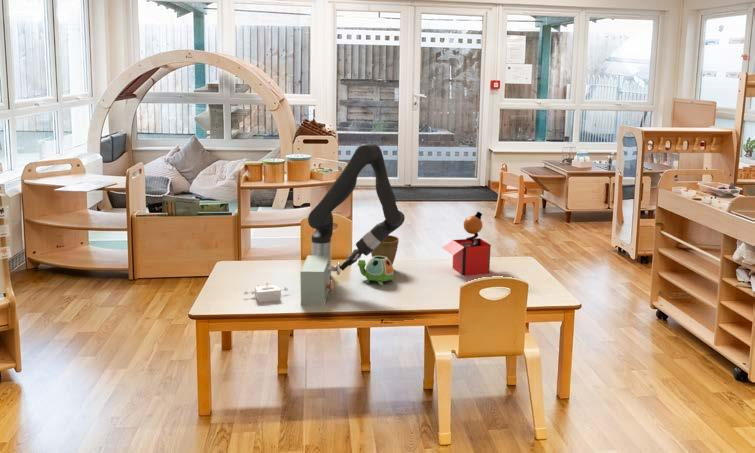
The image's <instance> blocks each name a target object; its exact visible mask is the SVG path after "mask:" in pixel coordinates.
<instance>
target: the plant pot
mask: <svg viewBox="0 0 755 453" xmlns="http://www.w3.org/2000/svg"><path fill="white" fill-rule="evenodd" d="M399 239H400V238H399V237H398V236H396V235H390V234H389V235H388V236H387V237H386V238H385V239H384V240H383V241H382V242H381V243H380V244H379V245H378V246H377V247H376V248H375V249H374V250H373V251H372V252H371V253H370V254H371V258H372V257H374V256H384V257H387V258H388V259H389V261H390V262H391V264H392V266H393V264H394V262H395V259H396V255H397V252H398V248H399V247H398V246H399V241H400V240H399Z"/></svg>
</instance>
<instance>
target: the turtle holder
mask: <svg viewBox="0 0 755 453" xmlns="http://www.w3.org/2000/svg"><path fill="white" fill-rule="evenodd" d="M357 261H358V262H357V264H356V265H357V266H358V267H359V272H360V275H362V276H364V277H365V278H366V283H367V284H371V281H372V282H373V281H374V282H377V285H379V286H384V283H383V282H387V281H388V282H394V280H393V278H394V266H393V265H392V264H391V262H390V261H389V259H388V258H387V257H384V256H374V257H372V256H371V259H369V260H368V262H367V264H366V260H364V259H358V260H357Z"/></svg>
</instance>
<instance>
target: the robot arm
mask: <svg viewBox="0 0 755 453" xmlns="http://www.w3.org/2000/svg"><path fill="white" fill-rule="evenodd" d="M367 165H370V167H372V169H373V171H374V172H373V173H374V177H375V192H376V195H377V198H378V199H379V202H380V205H381V207H382V212H383V215H384V216H383V217H384V219H383V221H381V222H379V223H376V225H375V226H374V227H372V228H371V229H370V230H369V231H368V232H366V233H365V234H364V235H363V236H362V237H361V238H360V239H359V240H358V241H357V242H355V246H356V248H354V249H353V250H352V252H351V253H350V254H349V255H348V256H347V257H346V259H345V261H344V262H343V263H342V264H340V271H345V270H346V269H347V268H348V267H349V266H352V265H353V264H354V263H356V262H357V261H358V260H360V259H361V257H362V255H364V256H366V257H367V256H369V255H370V254H371V252H372V251H373V250H374V249H375V248H376V247H377V246H378V245H379V244H380V243H381V242H382V241H383V240H384V239H385V238H386V237H387V236H388V235H390V234H391V233H393V232H394V231H396V230H397V229H398V228H400V227H402V225H403V224H404V222H405V214H404V213H403V212H402V211H400V210H399V209H398V205H397V198H396V196H395V193H394V190H393V189H392V185H391V182H390V179H389V176H388V173H387V168H386V167H387V166H386V164H385V160H384V155H383V152H382V148H381V147H380V146H379V145H377V144H375V143H363V144H360V145H359V146H358V147H357V148H356V150H355V151H354V153H353V154H352V156H351V158H350V159H349V161H348V163H347V165H346V166H345V167H344V169H343V170H342V172H341V173H340V174H339V176H338V177H337V178H336V180H334V182H333V184H332V185H331V186H330V187H329V189H328V190H327V192H326V194H325V195H324V196H323V198H322V199H321V200H320V201H319V202H318V204H317V205H316V206H315V207H314V208H313V209H312V210H311V211H310V212H309V214H308V216H307V217H308V218H307V222H308V223H307V224H308V225H309V226H310V227H311V228H312V229H315V231H314V233H313V234H312V235H311V255H321V256H330V266H332V237H333V229H334V216H333V211H334V210H335V209H336V208H337V207H339V206H340V205H341V204H342V203H343V202H345V201H346V200H347V199H348V198H349V196H350V195H351V194H352V192H354V190H355V188H356V185H357V181H358V176H359V175H360V172H362V170H363V169H364V168H365V167H366V166H367ZM331 276H332V271H330V277H331Z"/></svg>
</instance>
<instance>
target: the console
mask: <svg viewBox="0 0 755 453" xmlns="http://www.w3.org/2000/svg"><path fill="white" fill-rule="evenodd" d="M328 266H330V256H321V255H312V254H310V255H309V254H308V255H307V256H306V258H305V261H304V263H303V265H302V268H301V270H300V305H301V306H325V303H326V301H327V298H328V294H329V292H330V289H325V283H330V280H331V276H330V271H328Z"/></svg>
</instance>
